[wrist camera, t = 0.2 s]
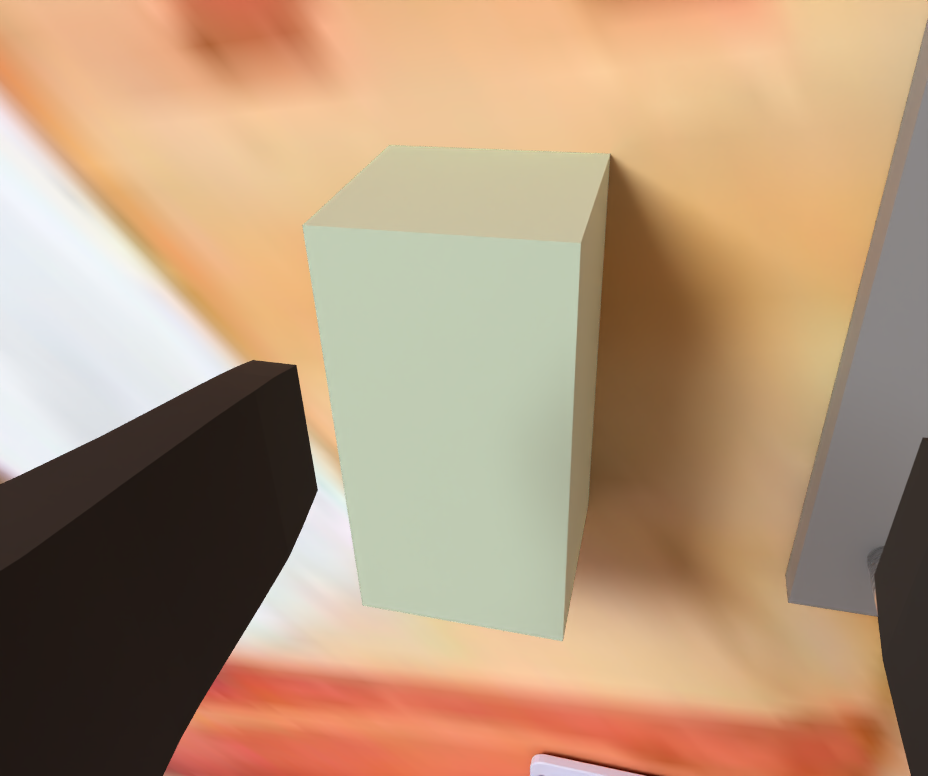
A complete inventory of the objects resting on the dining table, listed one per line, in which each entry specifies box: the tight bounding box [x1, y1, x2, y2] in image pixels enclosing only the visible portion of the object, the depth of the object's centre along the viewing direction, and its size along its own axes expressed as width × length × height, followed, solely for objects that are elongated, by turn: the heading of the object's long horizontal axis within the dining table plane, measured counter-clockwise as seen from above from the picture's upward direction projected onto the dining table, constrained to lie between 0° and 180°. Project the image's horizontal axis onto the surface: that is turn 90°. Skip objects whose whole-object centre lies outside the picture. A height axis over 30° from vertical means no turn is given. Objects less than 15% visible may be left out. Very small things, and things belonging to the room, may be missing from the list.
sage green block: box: [302, 145, 610, 641], centre depth 19 cm, size 10×5×5 cm, turn 2°
